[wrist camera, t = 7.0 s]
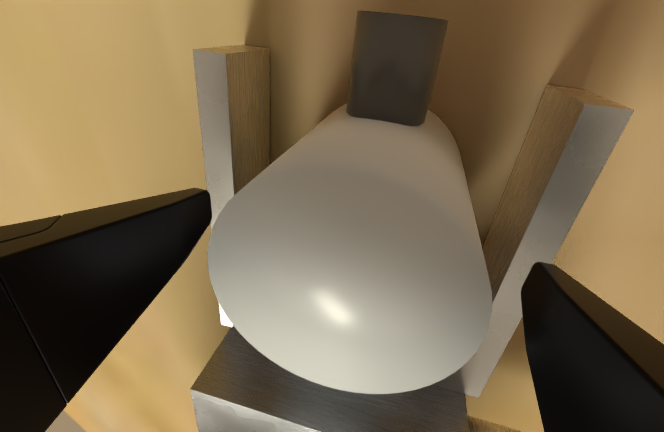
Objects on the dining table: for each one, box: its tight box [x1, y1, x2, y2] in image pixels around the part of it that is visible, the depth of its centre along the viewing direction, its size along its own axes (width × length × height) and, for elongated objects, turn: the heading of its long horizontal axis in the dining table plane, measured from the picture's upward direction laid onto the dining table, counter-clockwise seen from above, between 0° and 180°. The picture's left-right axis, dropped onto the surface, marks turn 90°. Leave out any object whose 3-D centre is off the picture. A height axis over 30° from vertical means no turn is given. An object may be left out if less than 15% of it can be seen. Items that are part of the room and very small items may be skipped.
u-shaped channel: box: [190, 45, 634, 432], centre depth 12 cm, size 14×17×8 cm
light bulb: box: [207, 11, 492, 394], centre depth 9 cm, size 6×8×7 cm
